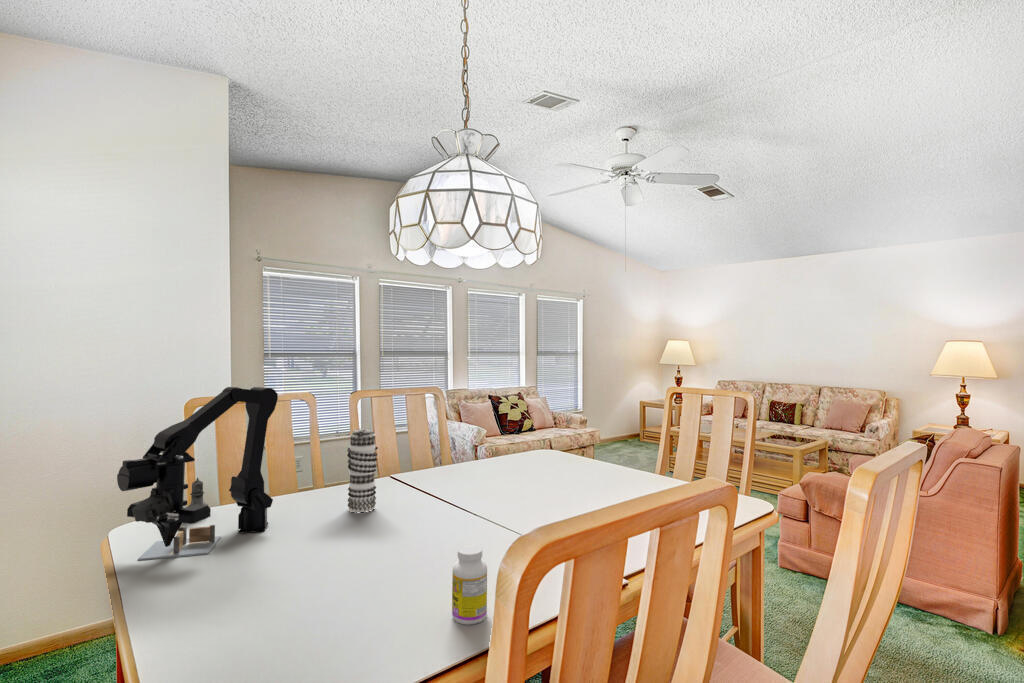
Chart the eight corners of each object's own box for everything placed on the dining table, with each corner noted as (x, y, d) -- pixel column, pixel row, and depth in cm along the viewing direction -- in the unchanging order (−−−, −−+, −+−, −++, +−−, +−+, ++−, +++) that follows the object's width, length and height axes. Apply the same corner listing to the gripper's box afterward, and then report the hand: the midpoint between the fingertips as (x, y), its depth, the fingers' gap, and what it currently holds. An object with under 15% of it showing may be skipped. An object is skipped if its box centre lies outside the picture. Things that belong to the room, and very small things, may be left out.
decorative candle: (351, 504, 168) (352, 427, 168) (379, 504, 168) (380, 427, 168) (342, 513, 159) (343, 432, 159) (373, 513, 159) (374, 432, 159)
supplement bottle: (452, 608, 102) (453, 543, 102) (486, 607, 102) (486, 542, 102) (451, 627, 95) (452, 556, 95) (487, 625, 96) (488, 555, 96)
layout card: (220, 537, 138) (220, 535, 138) (208, 554, 127) (208, 552, 127) (156, 542, 134) (156, 541, 134) (137, 560, 123) (137, 558, 123)
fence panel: (178, 545, 130) (178, 530, 130) (183, 544, 131) (183, 529, 131) (173, 553, 125) (173, 538, 125) (178, 553, 125) (179, 537, 125)
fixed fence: (215, 542, 135) (215, 523, 135) (213, 544, 133) (213, 525, 133) (179, 545, 133) (179, 526, 133) (176, 547, 131) (177, 528, 131)
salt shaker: (197, 522, 150) (198, 480, 150) (180, 520, 151) (180, 479, 151) (213, 515, 155) (213, 475, 156) (196, 514, 157) (196, 474, 157)
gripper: (107, 487, 120) (104, 554, 120) (176, 494, 117) (173, 564, 116) (148, 475, 131) (146, 537, 131) (213, 482, 128) (210, 545, 127)
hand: (167, 546), depth 126 cm, fingers closed
